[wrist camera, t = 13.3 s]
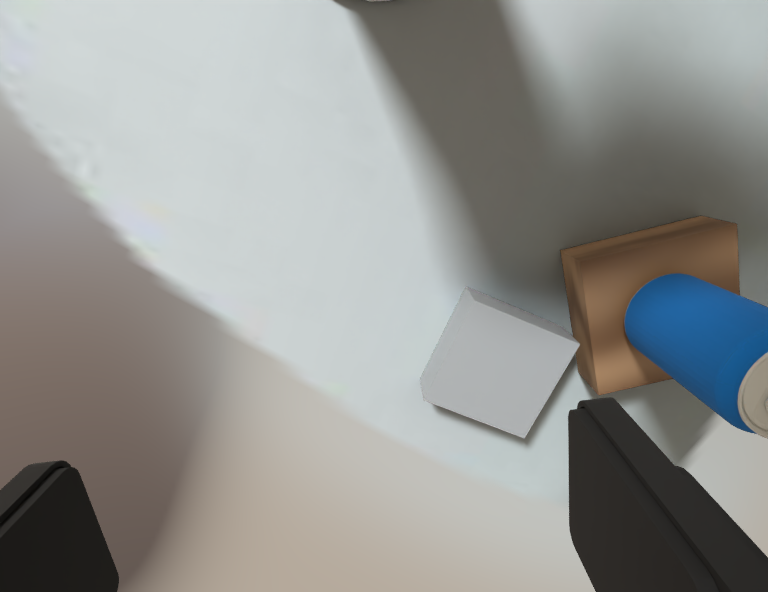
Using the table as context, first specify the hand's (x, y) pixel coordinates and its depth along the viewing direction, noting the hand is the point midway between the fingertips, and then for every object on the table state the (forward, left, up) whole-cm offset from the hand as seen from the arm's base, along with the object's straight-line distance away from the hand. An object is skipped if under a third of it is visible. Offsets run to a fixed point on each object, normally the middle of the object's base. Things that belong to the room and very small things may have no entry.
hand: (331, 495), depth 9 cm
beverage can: (+7, +21, -26) cm, 35 cm away
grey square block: (+11, +9, -30) cm, 34 cm away
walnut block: (+7, +21, -30) cm, 38 cm away
